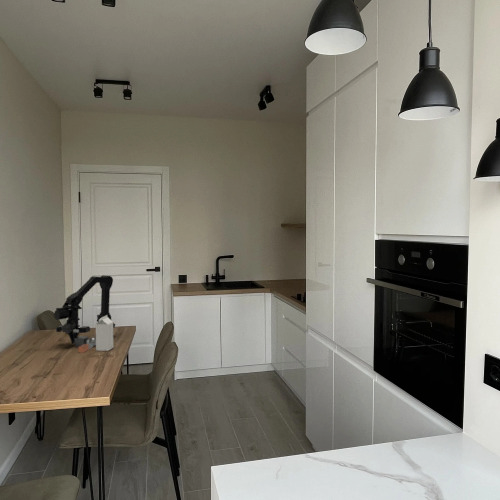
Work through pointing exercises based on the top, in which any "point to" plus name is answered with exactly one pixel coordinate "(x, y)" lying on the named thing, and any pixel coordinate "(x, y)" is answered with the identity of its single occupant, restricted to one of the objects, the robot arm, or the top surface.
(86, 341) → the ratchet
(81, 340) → the dark-topped grey cube
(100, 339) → the milk carton
